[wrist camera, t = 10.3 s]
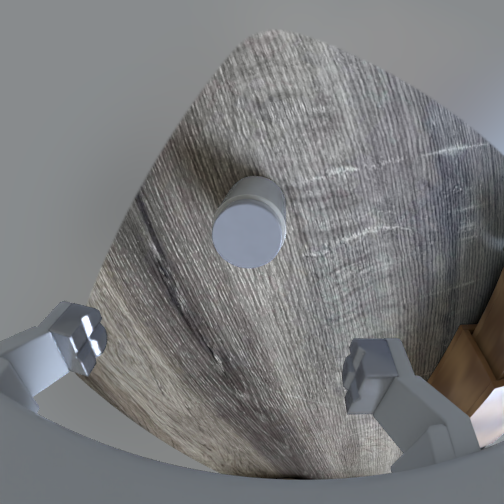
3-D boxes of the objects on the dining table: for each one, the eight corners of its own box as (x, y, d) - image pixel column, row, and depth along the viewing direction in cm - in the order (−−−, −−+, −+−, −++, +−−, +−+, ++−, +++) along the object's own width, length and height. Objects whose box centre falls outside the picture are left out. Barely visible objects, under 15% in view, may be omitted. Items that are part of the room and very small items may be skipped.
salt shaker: (227, 174, 19) (206, 197, 14) (288, 177, 19) (289, 203, 14) (226, 229, 21) (208, 268, 16) (283, 233, 21) (282, 275, 16)
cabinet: (459, 324, 23) (494, 388, 15) (527, 320, 22) (560, 367, 14) (407, 409, 29) (420, 464, 22) (475, 398, 29) (492, 443, 21)
